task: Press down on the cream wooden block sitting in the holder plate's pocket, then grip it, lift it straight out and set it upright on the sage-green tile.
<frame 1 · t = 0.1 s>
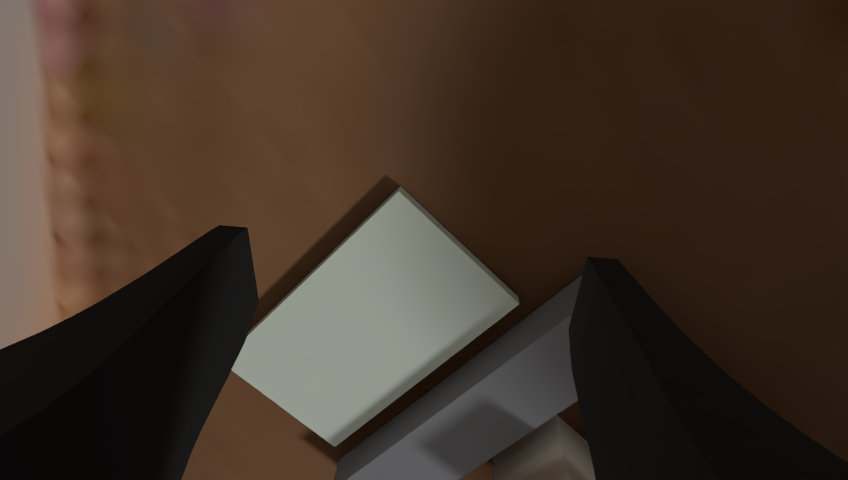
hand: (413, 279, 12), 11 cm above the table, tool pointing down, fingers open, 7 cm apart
green tile: (365, 326, 25), on the table
holder plate: (550, 458, 28), on the table
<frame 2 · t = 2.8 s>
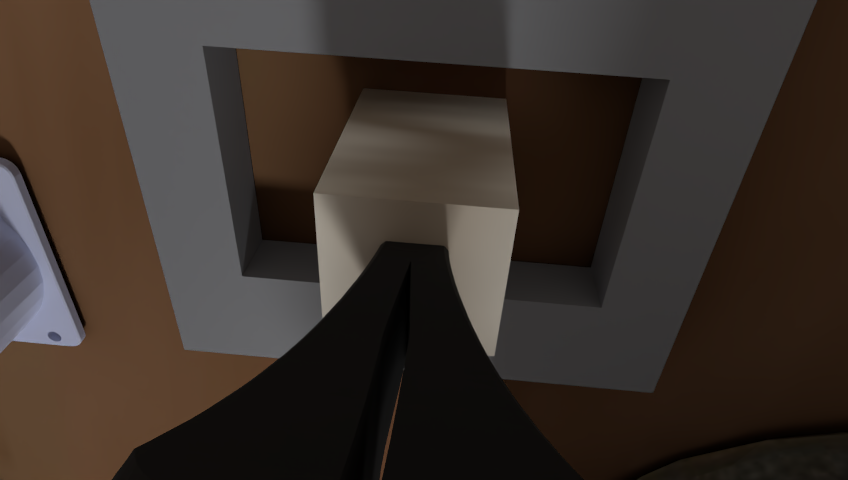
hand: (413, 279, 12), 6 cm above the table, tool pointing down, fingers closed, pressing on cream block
holder plate: (430, 158, 17), on the table
cream block: (422, 208, 15), in the holder plate, touching gripper
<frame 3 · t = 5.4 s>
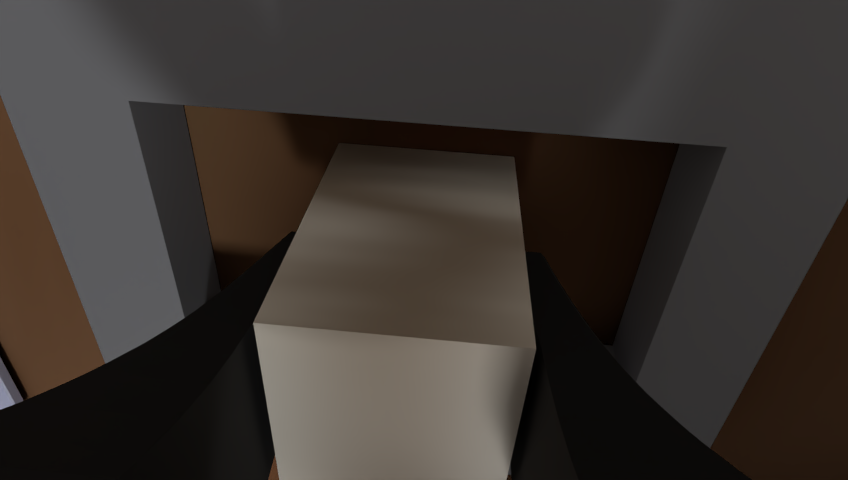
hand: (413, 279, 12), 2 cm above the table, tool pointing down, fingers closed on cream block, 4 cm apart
holder plate: (421, 224, 14), on the table
cream block: (409, 303, 12), in the holder plate, touching gripper
when the fingers open (4 cm above the table, at t = 8.8 s): cream block drops 1 cm, resting on green tile.
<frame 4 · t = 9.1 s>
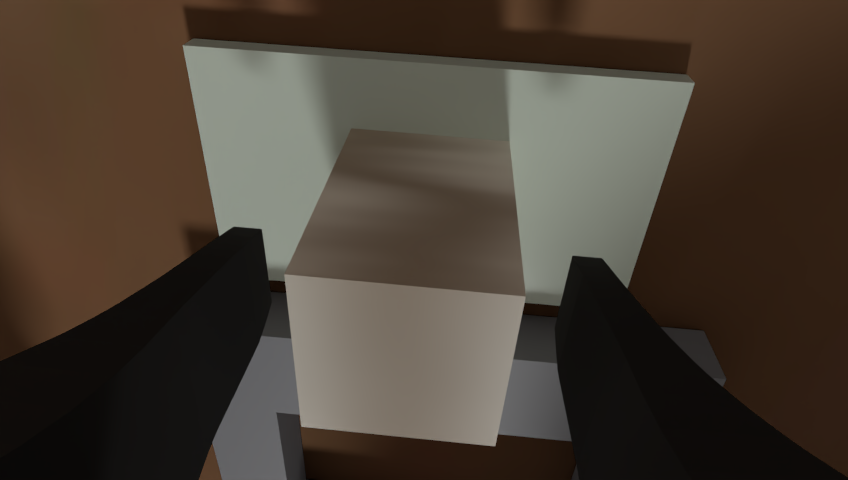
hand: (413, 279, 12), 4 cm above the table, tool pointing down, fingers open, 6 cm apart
green tile: (428, 182, 16), on the table
holder plate: (438, 442, 22), on the table
cream block: (415, 270, 13), on the green tile, point 4 cm above the table
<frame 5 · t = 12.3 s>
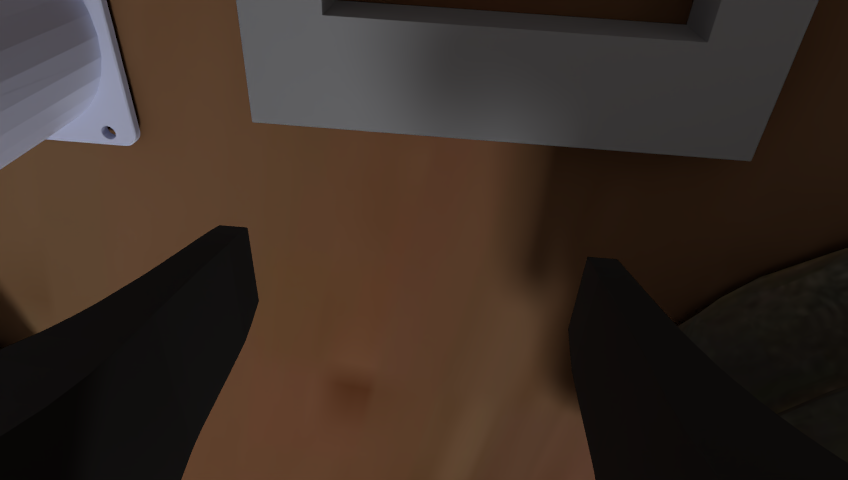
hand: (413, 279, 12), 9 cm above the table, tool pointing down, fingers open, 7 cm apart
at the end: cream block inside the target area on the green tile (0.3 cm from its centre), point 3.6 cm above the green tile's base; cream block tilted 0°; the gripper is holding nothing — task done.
